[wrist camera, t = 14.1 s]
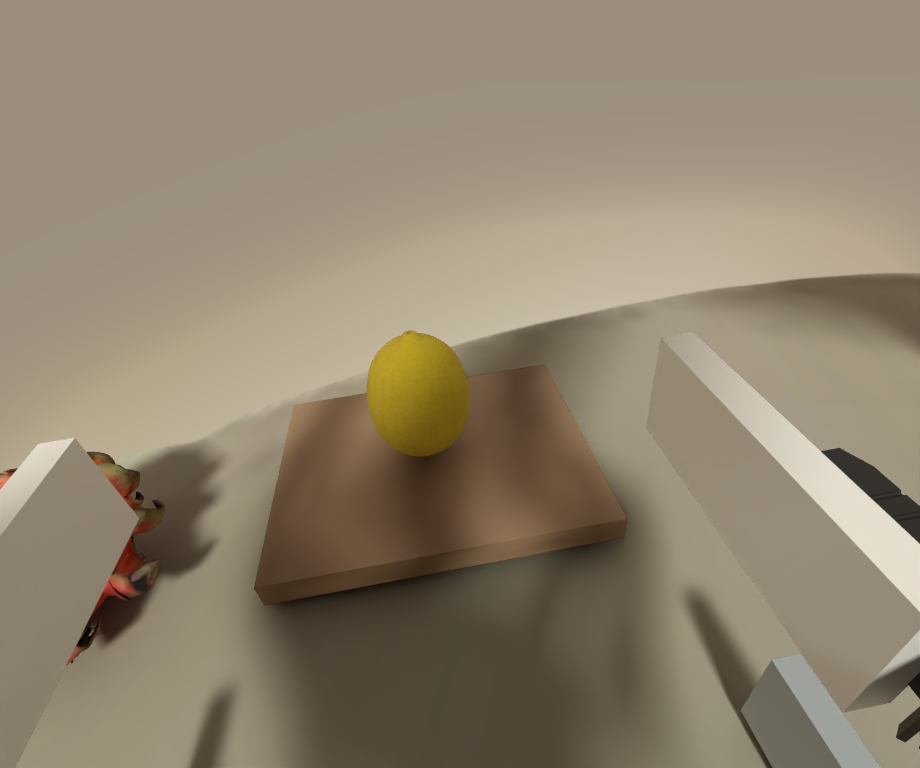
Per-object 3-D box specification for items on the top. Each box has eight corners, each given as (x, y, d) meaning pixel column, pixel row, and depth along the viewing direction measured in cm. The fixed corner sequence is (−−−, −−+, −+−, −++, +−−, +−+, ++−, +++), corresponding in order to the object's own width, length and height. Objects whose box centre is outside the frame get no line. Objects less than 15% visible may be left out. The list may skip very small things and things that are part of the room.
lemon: (405, 418, 31) (385, 305, 27) (485, 431, 30) (478, 313, 25) (363, 475, 27) (331, 353, 23) (454, 495, 25) (439, 366, 21)
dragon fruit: (143, 519, 31) (115, 729, 22) (-43, 508, 26) (-171, 776, 17) (184, 422, 27) (171, 625, 19) (-19, 388, 22) (-163, 644, 14)
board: (544, 381, 36) (544, 364, 35) (624, 537, 24) (627, 518, 23) (300, 421, 34) (293, 405, 34) (264, 605, 23) (253, 587, 22)
